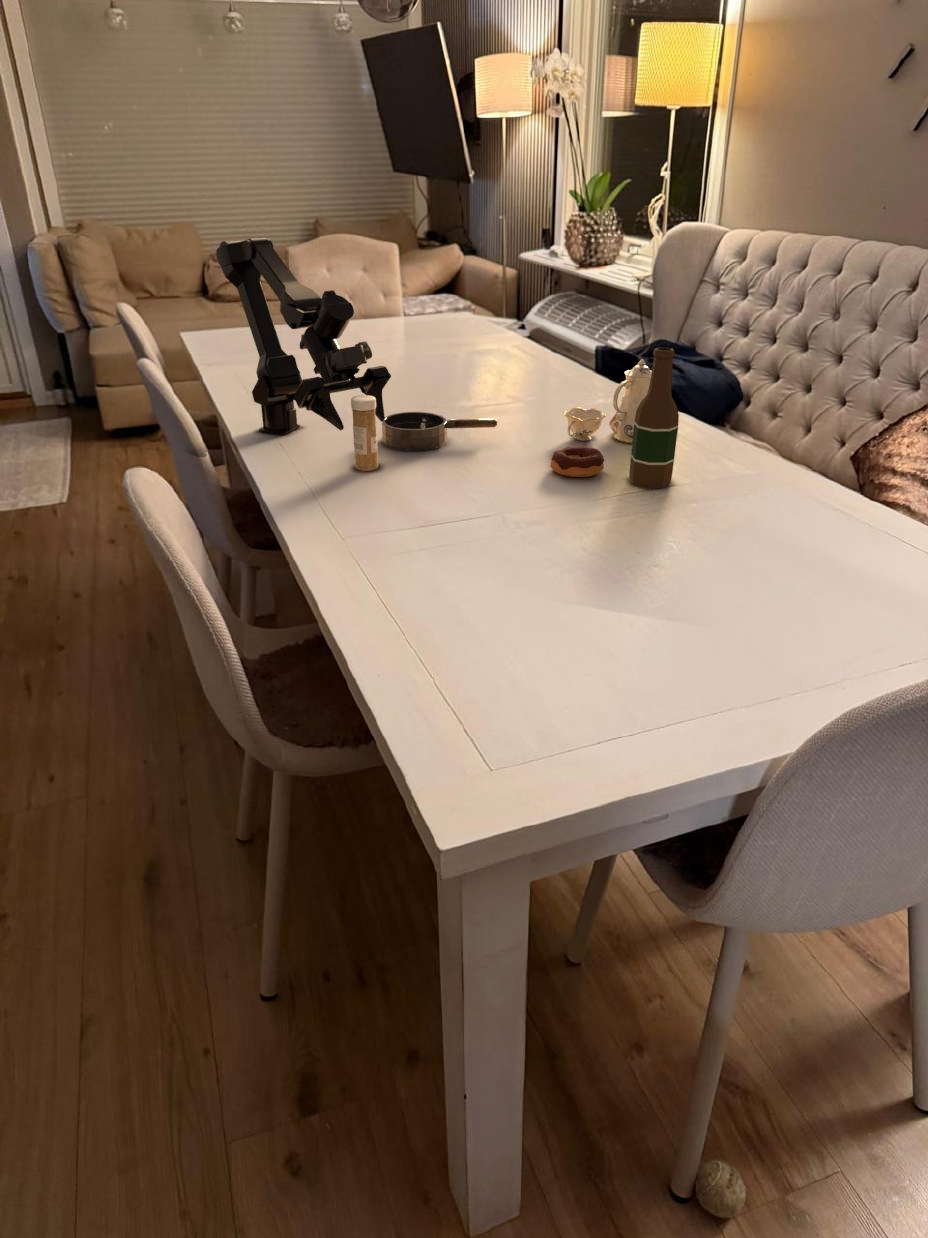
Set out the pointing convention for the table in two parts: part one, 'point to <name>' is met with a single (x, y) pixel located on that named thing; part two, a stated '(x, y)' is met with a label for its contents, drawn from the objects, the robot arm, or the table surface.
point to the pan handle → (471, 423)
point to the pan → (414, 431)
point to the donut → (577, 461)
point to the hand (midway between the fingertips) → (363, 424)
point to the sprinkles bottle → (364, 432)
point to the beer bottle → (655, 427)
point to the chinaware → (624, 418)
